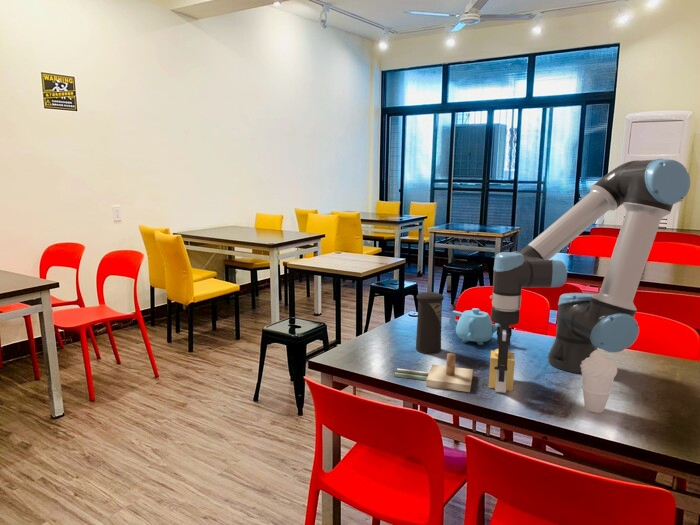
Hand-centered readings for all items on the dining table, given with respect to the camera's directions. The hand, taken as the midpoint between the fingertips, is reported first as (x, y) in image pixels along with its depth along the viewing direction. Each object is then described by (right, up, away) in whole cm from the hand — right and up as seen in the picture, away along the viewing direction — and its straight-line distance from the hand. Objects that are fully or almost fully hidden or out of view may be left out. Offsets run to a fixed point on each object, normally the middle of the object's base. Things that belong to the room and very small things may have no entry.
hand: (500, 383), depth 138 cm
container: (-16, +4, +28) cm, 33 cm away
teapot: (+3, +6, +38) cm, 39 cm away
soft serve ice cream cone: (+20, -3, -14) cm, 24 cm away
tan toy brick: (0, 0, 0) cm, 0 cm away
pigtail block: (-19, +1, +4) cm, 19 cm away
